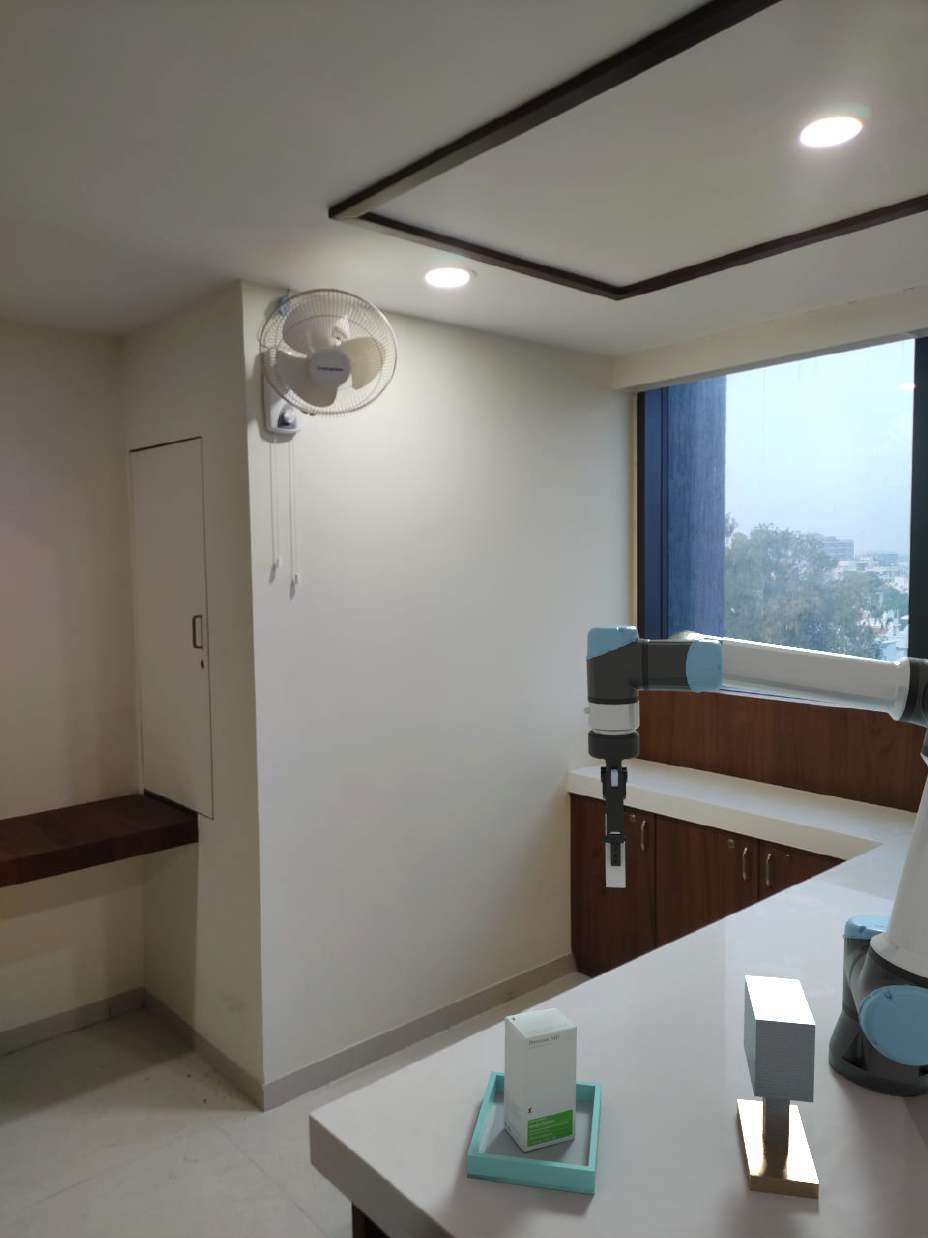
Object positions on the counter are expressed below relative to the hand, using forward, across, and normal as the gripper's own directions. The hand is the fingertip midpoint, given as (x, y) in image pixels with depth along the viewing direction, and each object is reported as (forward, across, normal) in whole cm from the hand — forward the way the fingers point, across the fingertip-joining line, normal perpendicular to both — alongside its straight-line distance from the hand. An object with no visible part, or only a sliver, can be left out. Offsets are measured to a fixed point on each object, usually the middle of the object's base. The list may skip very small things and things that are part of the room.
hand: (615, 870), depth 134 cm
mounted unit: (+32, +15, +20) cm, 41 cm away
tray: (+32, +17, -11) cm, 37 cm away
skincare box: (+31, +16, -11) cm, 37 cm away
